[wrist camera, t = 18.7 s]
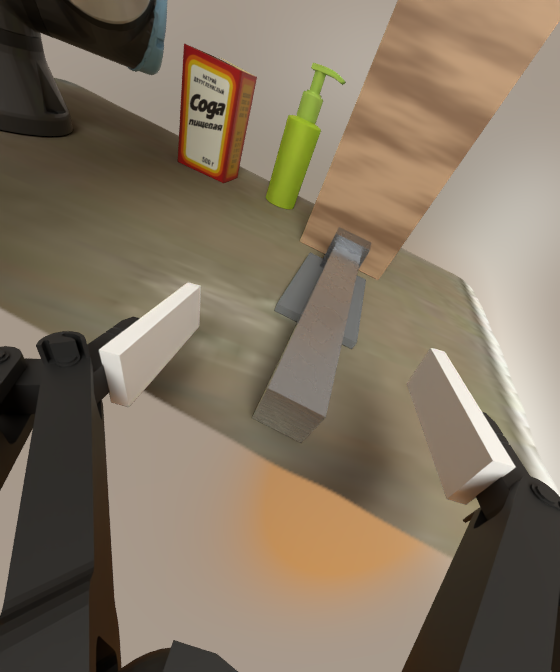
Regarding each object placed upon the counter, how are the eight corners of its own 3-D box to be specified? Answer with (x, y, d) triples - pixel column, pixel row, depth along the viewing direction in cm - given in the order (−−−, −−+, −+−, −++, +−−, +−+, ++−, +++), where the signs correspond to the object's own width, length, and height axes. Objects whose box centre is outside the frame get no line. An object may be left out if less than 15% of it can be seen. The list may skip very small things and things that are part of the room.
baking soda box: (177, 161, 49) (184, 39, 38) (195, 158, 54) (205, 49, 43) (223, 183, 49) (242, 67, 38) (237, 177, 54) (257, 74, 43)
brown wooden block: (378, 279, 41) (584, -16, 22) (299, 241, 42) (432, -86, 22) (379, 257, 49) (534, 22, 29) (313, 224, 49) (420, -30, 29)
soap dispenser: (293, 214, 50) (344, 74, 37) (261, 198, 50) (300, 53, 37) (301, 207, 54) (348, 80, 41) (271, 193, 54) (309, 61, 41)
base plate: (351, 349, 27) (356, 342, 26) (274, 310, 27) (277, 303, 26) (362, 285, 38) (365, 279, 38) (307, 258, 38) (310, 252, 38)
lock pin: (309, 447, 17) (346, 411, 14) (243, 413, 17) (264, 370, 14) (353, 272, 38) (371, 242, 35) (323, 258, 38) (339, 226, 35)
